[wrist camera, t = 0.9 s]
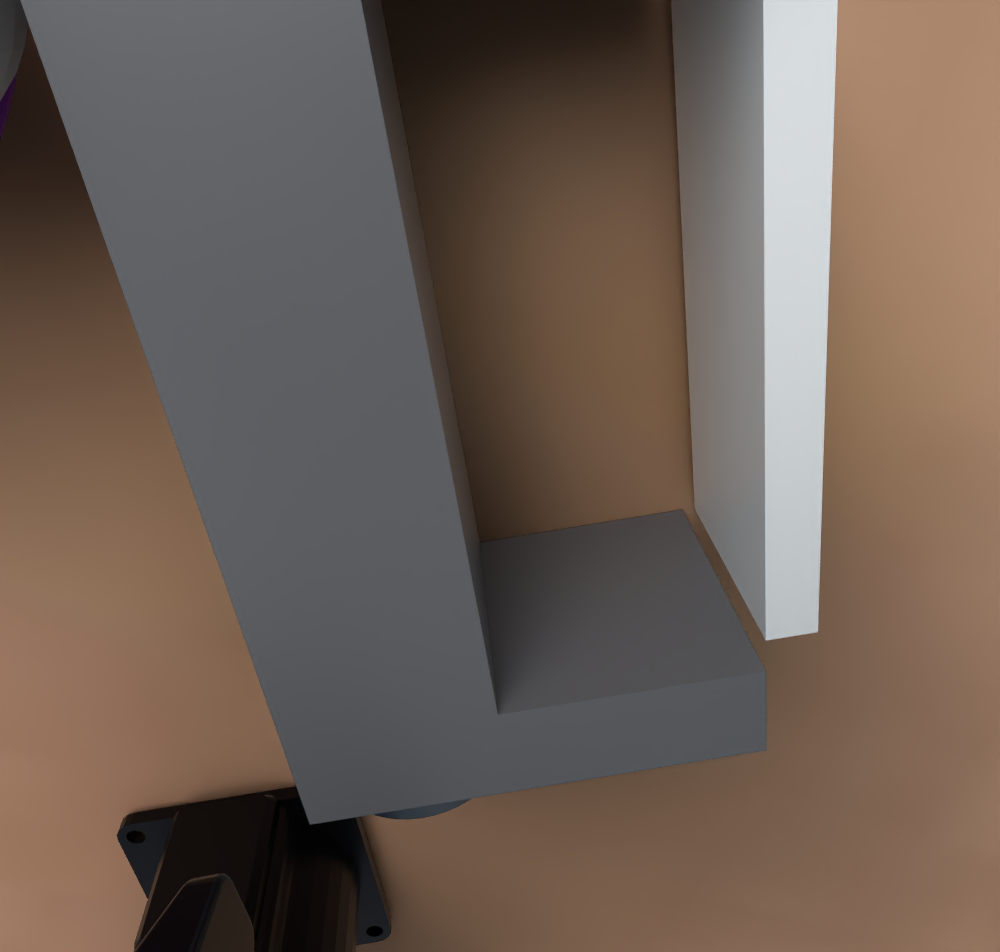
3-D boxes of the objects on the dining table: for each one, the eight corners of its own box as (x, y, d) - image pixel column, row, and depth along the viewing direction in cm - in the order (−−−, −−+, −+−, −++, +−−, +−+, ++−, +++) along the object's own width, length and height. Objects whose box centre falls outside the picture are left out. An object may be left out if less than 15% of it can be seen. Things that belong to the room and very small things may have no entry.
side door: (736, 502, 21) (817, 632, 17) (694, 509, 21) (765, 640, 17) (724, -46, 16) (839, -65, 12) (669, -37, 16) (763, -52, 12)
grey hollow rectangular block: (688, 614, 23) (766, 793, 18) (347, 670, 23) (324, 865, 18) (644, -195, 15) (762, -302, 10) (121, -110, 15) (-40, -170, 10)
